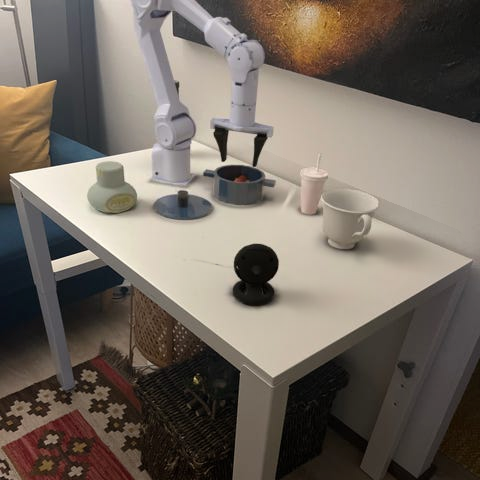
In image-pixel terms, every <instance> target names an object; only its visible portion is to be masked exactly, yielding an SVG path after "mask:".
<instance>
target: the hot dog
mask: <svg viewBox="0 0 480 480" xmlns="http://www.w3.org/2000/svg"><path fill="white" fill-rule="evenodd" d="M234 182H249V180H246V177H245V176H243V175H241V176H240V177H239V178H236V180H235V181H234Z"/></svg>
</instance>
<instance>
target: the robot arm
mask: <svg viewBox="0 0 480 480" xmlns="http://www.w3.org/2000/svg"><path fill="white" fill-rule="evenodd" d="M130 3H131V6H132V10H133V11H132V12H133V28H134V31H135V35H136V39H137V42H138V45H139V49H140V51H141V55H142V58H143V61H144V65H145V68H146V71H147V75H148V78H149V81H150V85H151V88H152V91H153V95H154V99H155V102H156V105H157V109H156V112H155V114H154V116H153V121H154V126H155V128H154V134H155V138H156V141H157V142H155V143H154V144H153V147H152V150H151V172H152V174H151V175H152V178H151V180H152V181H158V182H164V183H169V184H175V185H180V186H181V185H182V186H187V185H188V184H189V183H190V182H191V181H192V179H194V178H195V176H196V174H193V173H191V145H192V139H194V138H195V136H196V133H197V125H196V122H195V120H194V119H193V117H192V116H191V114H190V111H189V107H187V106H186V105H185V104H184V103H182V102H181V100H180V95H179V96H178V93H177V89H176V86H175V82H174V80H175V79H174V76H173V75H174V74H173V72H172V69H171V64H170V61H169V58H168V54H167V51H166V47H165V44H164V39H163V36H162V33H161V28H162V26H163V24H164V22H165V20H166V19H167V18H168V17H169V16H170V15H171V14H172V12H176V13H178V14H179V15H180V16H182V17H183V18H184V19H185V20H187V21H188V22H190V24H192V25H193V26H194V27H196V28H197V29H199V30H200V31H201V32H203V35H204V41H205V42H206V43H207V45H209V46H210V47H211V48H213V50H215V51H216V52H217V53H218V54H219V55H220V56H222V57H223V58H224V59H226V60H227V65H228V67H229V69H230V71H231V89H230V105H229V118H216V117H213V118H211V119H210V124H209V128H210V129H211V130H214V131H213V138H214V139H215V142H216V144H217V148H218V150H219V153H220V161H221V163H225V162H226V161H227V158H228V141H229V139H228V138H229V133H230V131H231V132H236V133H243V134H244V133H245V134H250V135H251V134H252V135H256V136H255V137H254V138H253V157H252V166H251V167H254V168H257V166H258V162H259V159H260V155H261V153H262V150H263V148H264V146H265V144H266V143H267V140H268V139H269V138H272V137H273V136H274V128H275V127H274V126H272V125H266V124H263V123H259V122H256V112H257V111H256V110H257V100H258V99H257V98H258V85H259V75H260V68H262V66H263V65H264V62H265V59H266V56H265V55H266V54H265V50H264V48H263V46H262V45H261V44H260V42H259V40H255V39H248V35H247V34H245V32H244V33H241V32H240V31H239V30H237V28H235V27H234V26H233V25H232V24H231V22H232V21H231V20H230V19H229V18H228V17H222V16H216V17H214V16H212V15H211V14H210V13H209V12H208V11H207V10H206V9H205V8H203V6H202V5H201V4H199V2H198V1H196V0H130ZM172 117H174V118H172Z"/></svg>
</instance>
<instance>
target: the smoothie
mask: <svg viewBox="0 0 480 480" xmlns="http://www.w3.org/2000/svg"><path fill="white" fill-rule="evenodd" d="M321 156H322V153H321V152H318V155H317V162H316V166H315V167H311V166H309V167H304V168H302V169H301V170H300V173H299V176H300V177H301V179H300V180H301V181H300V188H301V189H300V212H301V213H302V214H304V215H315V214H317V211H318V207H319V204H320V201H321V195H322V194H323V191H324V188H325V183H326V181H327V180H328V178H329V177H328V176H329V173H328V171H326V169H322V168H320V163H321V158H322V157H321Z"/></svg>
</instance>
